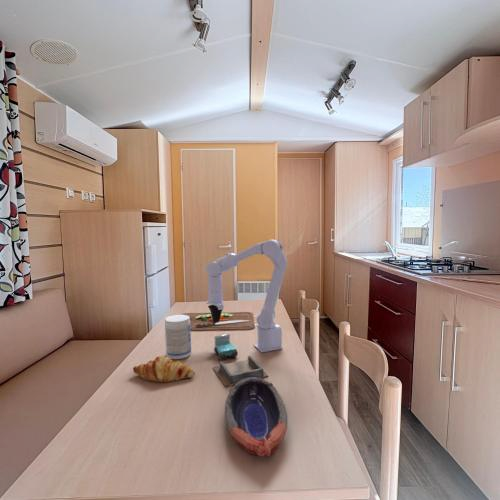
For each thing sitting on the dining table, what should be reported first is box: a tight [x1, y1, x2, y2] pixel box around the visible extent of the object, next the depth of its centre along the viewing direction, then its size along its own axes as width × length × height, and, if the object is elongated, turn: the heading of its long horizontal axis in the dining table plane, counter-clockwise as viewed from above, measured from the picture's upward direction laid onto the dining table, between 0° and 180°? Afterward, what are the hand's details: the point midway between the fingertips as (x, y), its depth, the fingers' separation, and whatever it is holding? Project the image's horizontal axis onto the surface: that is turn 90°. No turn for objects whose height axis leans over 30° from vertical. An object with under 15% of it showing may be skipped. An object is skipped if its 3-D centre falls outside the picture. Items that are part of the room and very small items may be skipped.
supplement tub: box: [164, 314, 192, 360], centre depth 118 cm, size 10×10×15 cm
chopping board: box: [180, 311, 259, 332], centre depth 158 cm, size 45×27×3 cm, turn 91°
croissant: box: [132, 355, 196, 383], centre depth 102 cm, size 21×10×8 cm, turn 86°
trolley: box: [213, 333, 238, 361], centre depth 117 cm, size 7×9×6 cm
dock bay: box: [212, 355, 269, 387], centre depth 104 cm, size 15×14×3 cm
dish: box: [224, 377, 288, 457], centre depth 78 cm, size 16×31×5 cm, turn 2°
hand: (216, 322), depth 128 cm, fingers closed
